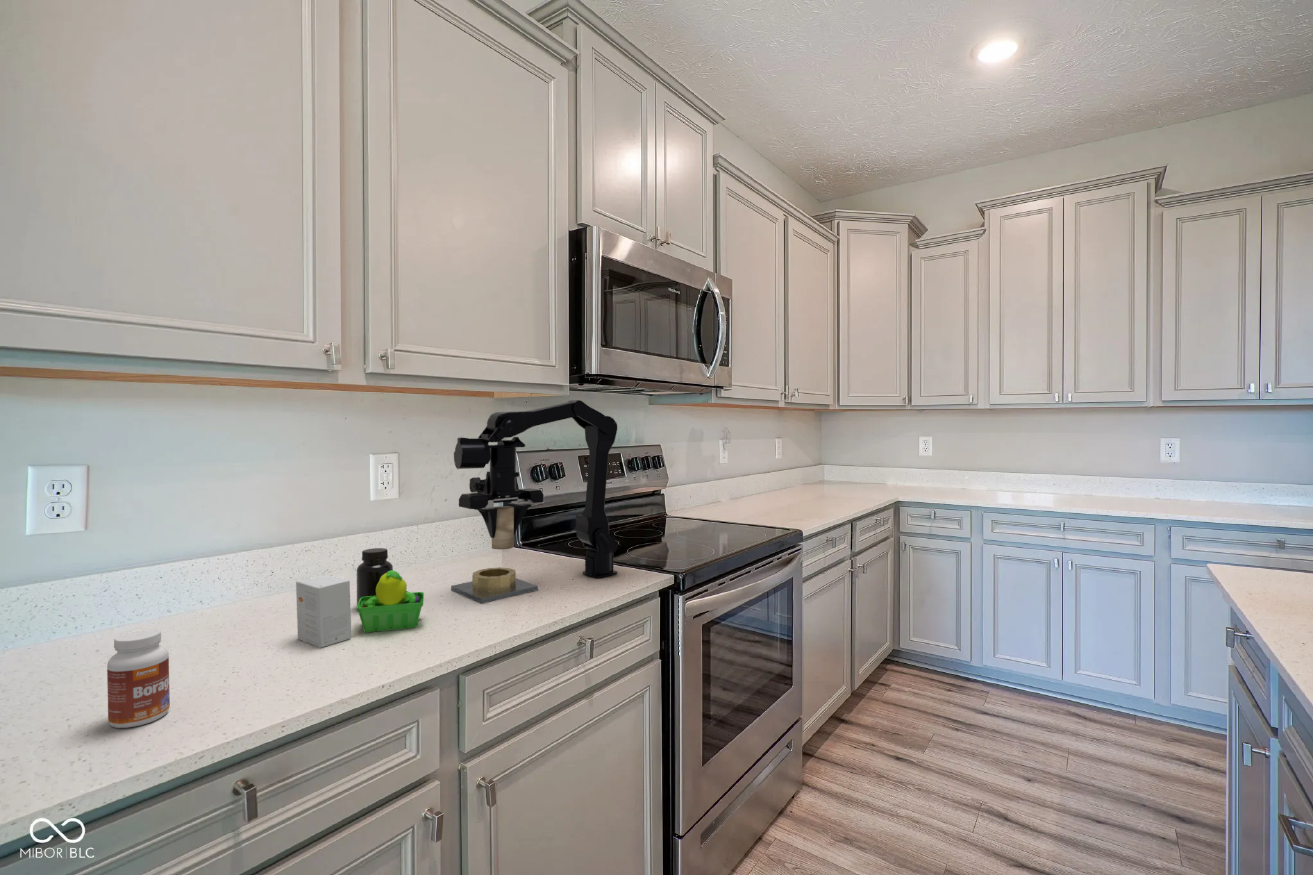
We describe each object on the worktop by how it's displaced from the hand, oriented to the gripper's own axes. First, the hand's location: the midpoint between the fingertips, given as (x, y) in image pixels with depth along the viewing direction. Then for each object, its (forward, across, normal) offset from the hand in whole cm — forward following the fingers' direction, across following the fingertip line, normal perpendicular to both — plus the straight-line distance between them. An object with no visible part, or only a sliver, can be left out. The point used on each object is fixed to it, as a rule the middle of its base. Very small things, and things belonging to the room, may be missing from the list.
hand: (502, 536), depth 137 cm
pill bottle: (+14, +64, +17) cm, 68 cm away
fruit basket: (+13, +27, +6) cm, 31 cm away
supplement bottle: (+13, +25, -8) cm, 29 cm away
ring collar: (+12, +1, -2) cm, 13 cm away
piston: (+2, 0, 0) cm, 3 cm away
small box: (+13, +38, +4) cm, 40 cm away
